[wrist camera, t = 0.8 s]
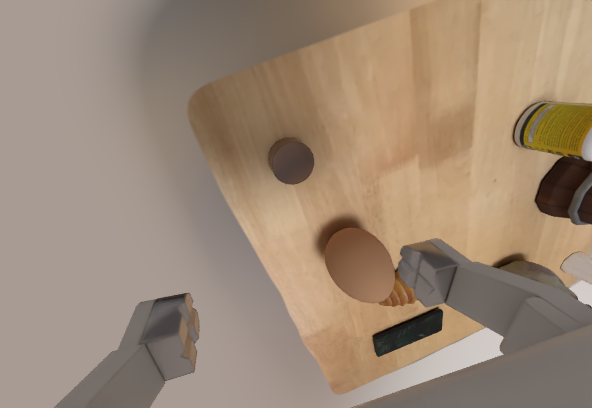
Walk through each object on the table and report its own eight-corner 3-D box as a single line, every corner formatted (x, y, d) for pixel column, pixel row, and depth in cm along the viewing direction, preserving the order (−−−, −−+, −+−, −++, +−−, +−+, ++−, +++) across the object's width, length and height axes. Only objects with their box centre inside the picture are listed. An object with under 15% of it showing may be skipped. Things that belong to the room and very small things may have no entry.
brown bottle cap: (260, 152, 26) (263, 157, 24) (296, 129, 26) (302, 133, 24) (281, 184, 29) (285, 192, 26) (314, 163, 28) (321, 170, 26)
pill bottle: (507, 151, 35) (612, 176, 26) (517, 107, 32) (640, 117, 23) (542, 140, 36) (657, 160, 26) (555, 96, 33) (690, 101, 23)
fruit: (532, 250, 48) (616, 295, 38) (512, 285, 52) (582, 335, 42) (493, 256, 46) (571, 306, 35) (474, 292, 50) (540, 347, 39)
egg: (314, 220, 32) (350, 277, 23) (366, 211, 33) (421, 260, 24) (315, 264, 35) (347, 329, 26) (362, 254, 37) (408, 312, 27)
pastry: (376, 305, 43) (388, 323, 40) (369, 280, 40) (381, 298, 37) (422, 282, 44) (437, 299, 40) (418, 257, 41) (435, 272, 37)
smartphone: (374, 339, 46) (443, 310, 48) (372, 334, 47) (439, 306, 48) (377, 358, 50) (442, 330, 51) (375, 353, 51) (438, 326, 52)
